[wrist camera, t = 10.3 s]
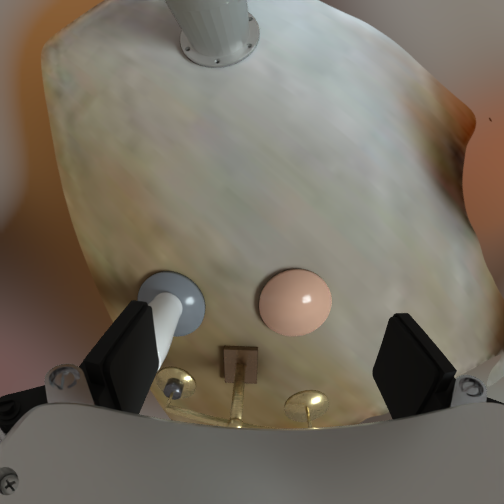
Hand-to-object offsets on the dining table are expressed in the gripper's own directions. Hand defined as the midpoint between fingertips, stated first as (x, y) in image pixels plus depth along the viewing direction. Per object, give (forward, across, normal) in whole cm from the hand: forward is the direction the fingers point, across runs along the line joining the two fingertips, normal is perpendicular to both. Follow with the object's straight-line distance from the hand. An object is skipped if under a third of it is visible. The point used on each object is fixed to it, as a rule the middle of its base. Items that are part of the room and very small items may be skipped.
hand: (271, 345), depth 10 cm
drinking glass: (+33, +14, +17) cm, 40 cm away
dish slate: (+34, +14, +17) cm, 40 cm away
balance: (+33, +2, +28) cm, 44 cm away
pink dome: (+34, -7, +15) cm, 37 cm away
